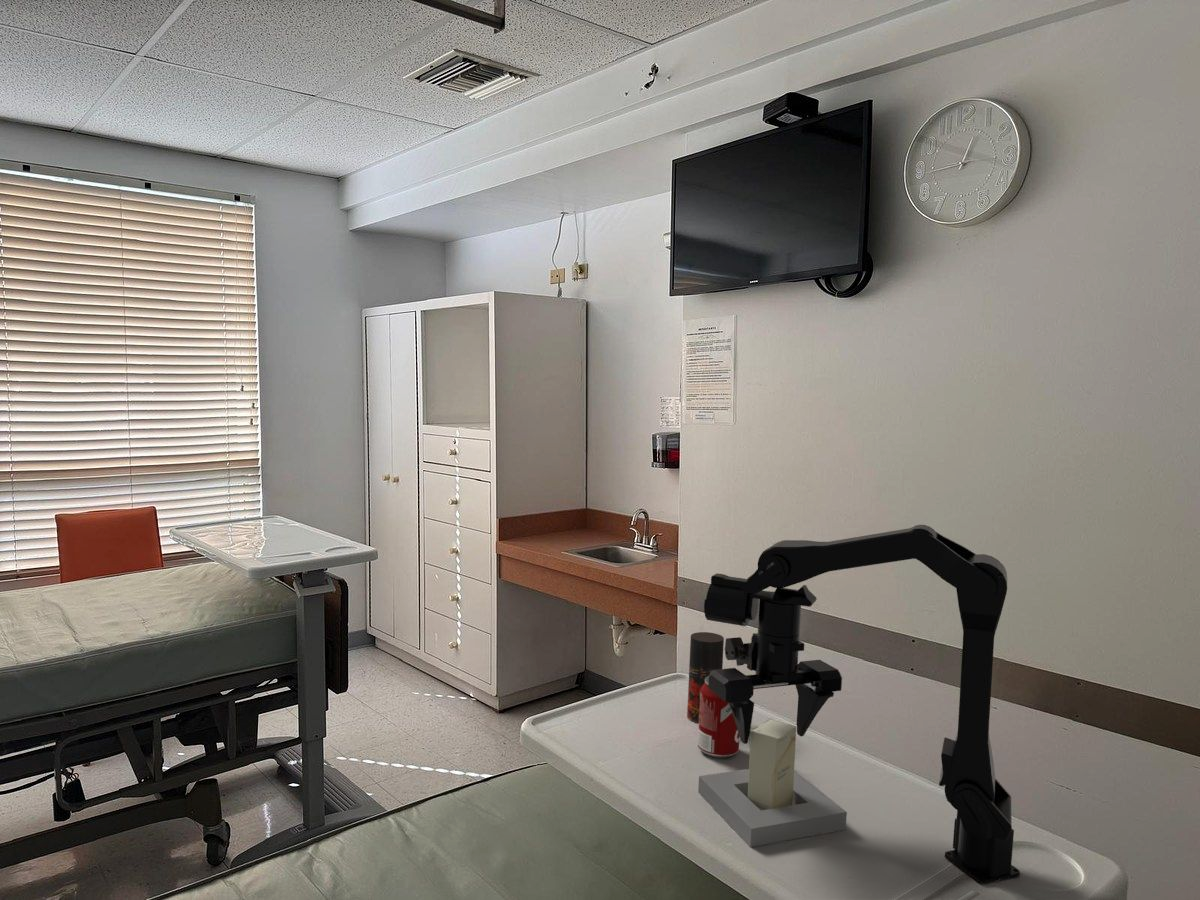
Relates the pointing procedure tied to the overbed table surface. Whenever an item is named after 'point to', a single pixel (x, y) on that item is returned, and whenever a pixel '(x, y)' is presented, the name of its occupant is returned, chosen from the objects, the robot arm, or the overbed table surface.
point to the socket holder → (771, 825)
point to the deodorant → (702, 667)
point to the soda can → (716, 725)
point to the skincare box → (772, 765)
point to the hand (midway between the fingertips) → (772, 738)
